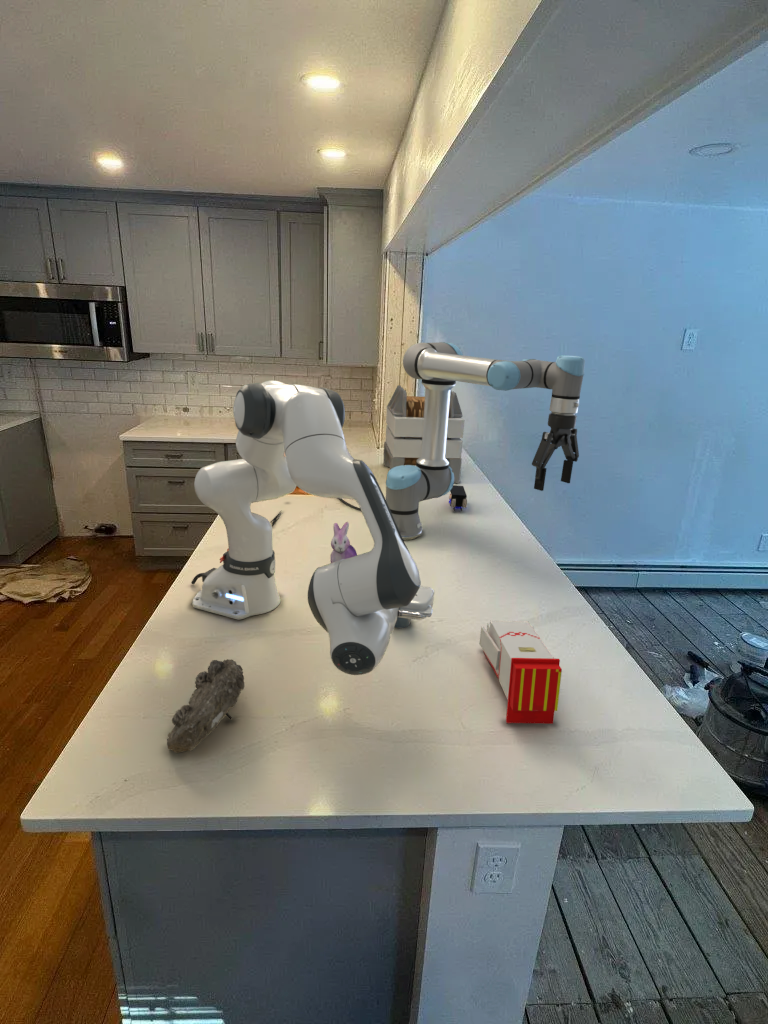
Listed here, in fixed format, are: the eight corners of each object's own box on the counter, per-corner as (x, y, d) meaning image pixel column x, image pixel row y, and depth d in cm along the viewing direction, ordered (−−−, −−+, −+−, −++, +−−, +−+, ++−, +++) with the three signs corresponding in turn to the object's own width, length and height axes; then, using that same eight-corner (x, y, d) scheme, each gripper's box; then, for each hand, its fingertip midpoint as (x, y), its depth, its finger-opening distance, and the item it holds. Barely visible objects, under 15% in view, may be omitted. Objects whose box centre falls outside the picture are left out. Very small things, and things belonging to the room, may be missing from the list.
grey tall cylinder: (385, 625, 142) (388, 569, 137) (393, 614, 147) (396, 560, 142) (406, 630, 140) (409, 573, 135) (413, 619, 145) (417, 564, 140)
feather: (288, 505, 226) (290, 501, 226) (271, 529, 199) (273, 524, 199) (284, 503, 226) (287, 499, 225) (266, 526, 199) (269, 522, 199)
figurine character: (467, 516, 223) (461, 500, 237) (469, 499, 220) (463, 483, 233) (450, 516, 223) (446, 499, 236) (452, 498, 220) (447, 483, 233)
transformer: (382, 463, 289) (386, 382, 275) (445, 464, 293) (451, 384, 279) (390, 482, 257) (394, 392, 243) (460, 483, 261) (468, 394, 247)
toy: (526, 605, 135) (570, 665, 105) (521, 658, 137) (563, 730, 108) (475, 604, 134) (506, 664, 105) (472, 657, 137) (500, 729, 108)
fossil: (192, 660, 117) (244, 628, 112) (224, 691, 120) (276, 661, 115) (142, 746, 98) (202, 712, 93) (182, 779, 101) (242, 748, 96)
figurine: (335, 579, 164) (336, 531, 159) (322, 565, 172) (322, 519, 167) (364, 574, 168) (366, 527, 163) (350, 560, 177) (351, 515, 172)
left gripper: (432, 603, 100) (439, 570, 113) (320, 589, 104) (340, 558, 116) (429, 634, 102) (437, 598, 115) (320, 619, 106) (340, 586, 119)
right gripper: (548, 419, 148) (537, 496, 155) (598, 411, 163) (586, 482, 171) (525, 414, 153) (515, 489, 160) (575, 407, 169) (564, 476, 176)
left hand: (388, 578), depth 116 cm, fingers open, 8 cm apart
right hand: (552, 485), depth 166 cm, fingers open, 13 cm apart
